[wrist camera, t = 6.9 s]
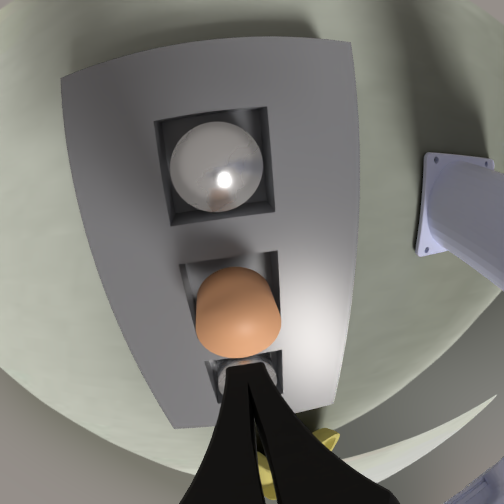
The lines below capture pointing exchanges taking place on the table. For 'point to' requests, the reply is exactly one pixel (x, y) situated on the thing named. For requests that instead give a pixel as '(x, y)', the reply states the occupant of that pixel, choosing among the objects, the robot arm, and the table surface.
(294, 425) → the robot arm
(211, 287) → the orange plunger
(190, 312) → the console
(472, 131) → the table surface
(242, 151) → the plunger
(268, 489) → the plastic component
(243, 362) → the plunger
